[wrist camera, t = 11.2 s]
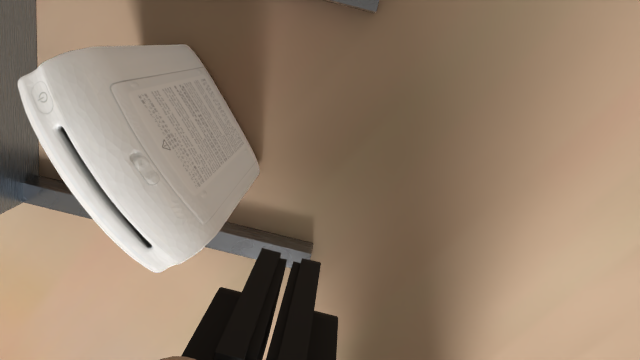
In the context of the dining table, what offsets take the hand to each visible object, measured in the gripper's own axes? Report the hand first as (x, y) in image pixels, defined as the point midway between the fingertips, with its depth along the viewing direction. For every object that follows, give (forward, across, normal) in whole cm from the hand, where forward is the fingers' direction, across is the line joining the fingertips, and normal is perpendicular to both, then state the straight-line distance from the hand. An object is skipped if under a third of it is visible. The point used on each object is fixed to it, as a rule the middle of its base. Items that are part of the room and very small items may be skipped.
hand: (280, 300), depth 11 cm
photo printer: (+17, +8, 0) cm, 18 cm away
